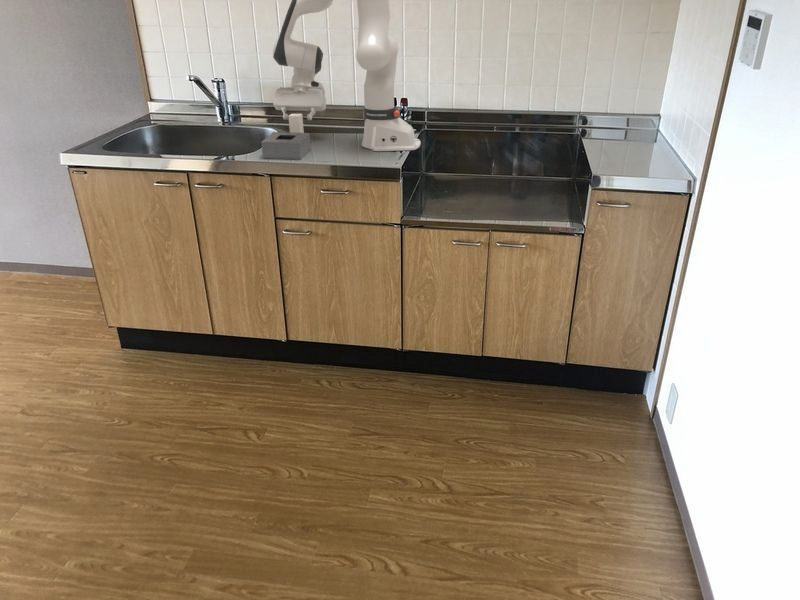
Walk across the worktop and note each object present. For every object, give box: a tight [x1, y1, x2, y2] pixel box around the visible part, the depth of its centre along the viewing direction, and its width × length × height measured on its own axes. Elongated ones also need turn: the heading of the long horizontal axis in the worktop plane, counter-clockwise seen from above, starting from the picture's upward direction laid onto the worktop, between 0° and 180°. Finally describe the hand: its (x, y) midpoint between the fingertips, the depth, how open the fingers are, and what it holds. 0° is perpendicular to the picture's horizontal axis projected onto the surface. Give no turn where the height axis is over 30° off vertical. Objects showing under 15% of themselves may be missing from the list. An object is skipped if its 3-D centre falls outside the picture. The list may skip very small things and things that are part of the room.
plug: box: [288, 113, 305, 133], centre depth 256 cm, size 4×4×11 cm
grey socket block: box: [260, 131, 312, 161], centre depth 245 cm, size 14×14×6 cm
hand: (297, 119), depth 257 cm, fingers open, 8 cm apart
